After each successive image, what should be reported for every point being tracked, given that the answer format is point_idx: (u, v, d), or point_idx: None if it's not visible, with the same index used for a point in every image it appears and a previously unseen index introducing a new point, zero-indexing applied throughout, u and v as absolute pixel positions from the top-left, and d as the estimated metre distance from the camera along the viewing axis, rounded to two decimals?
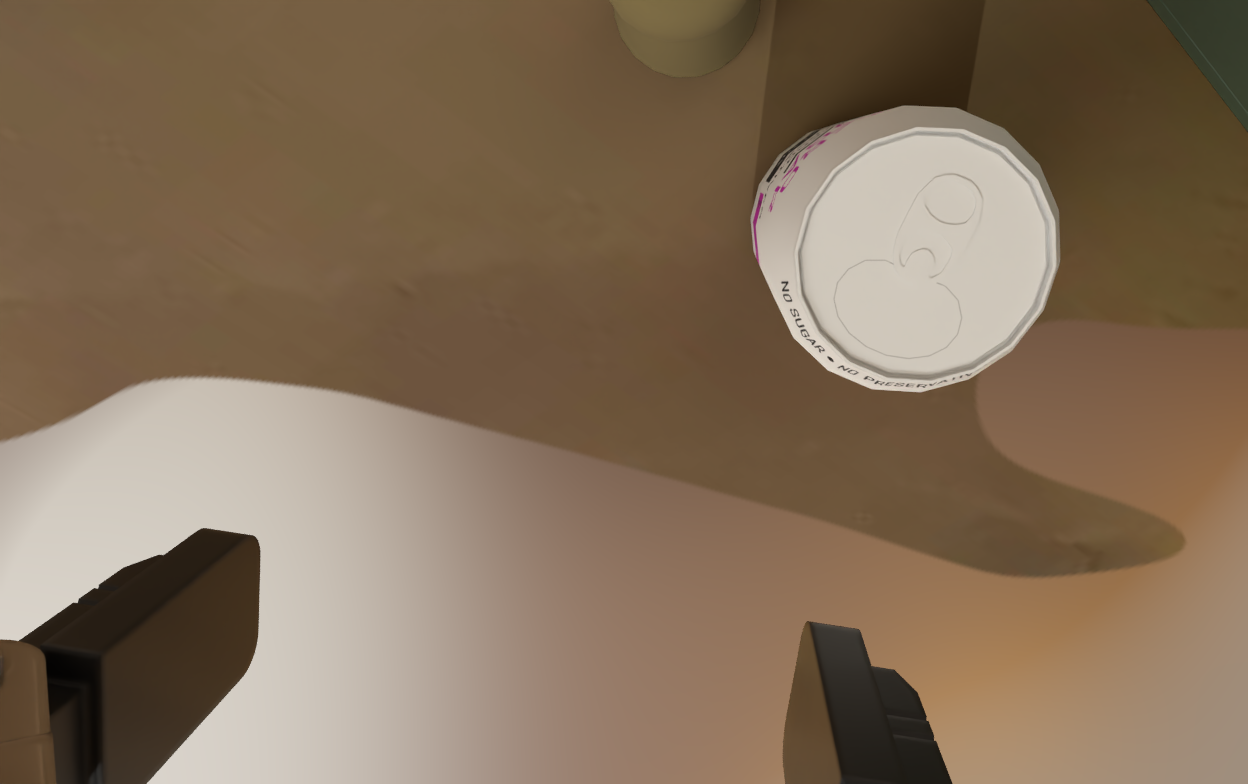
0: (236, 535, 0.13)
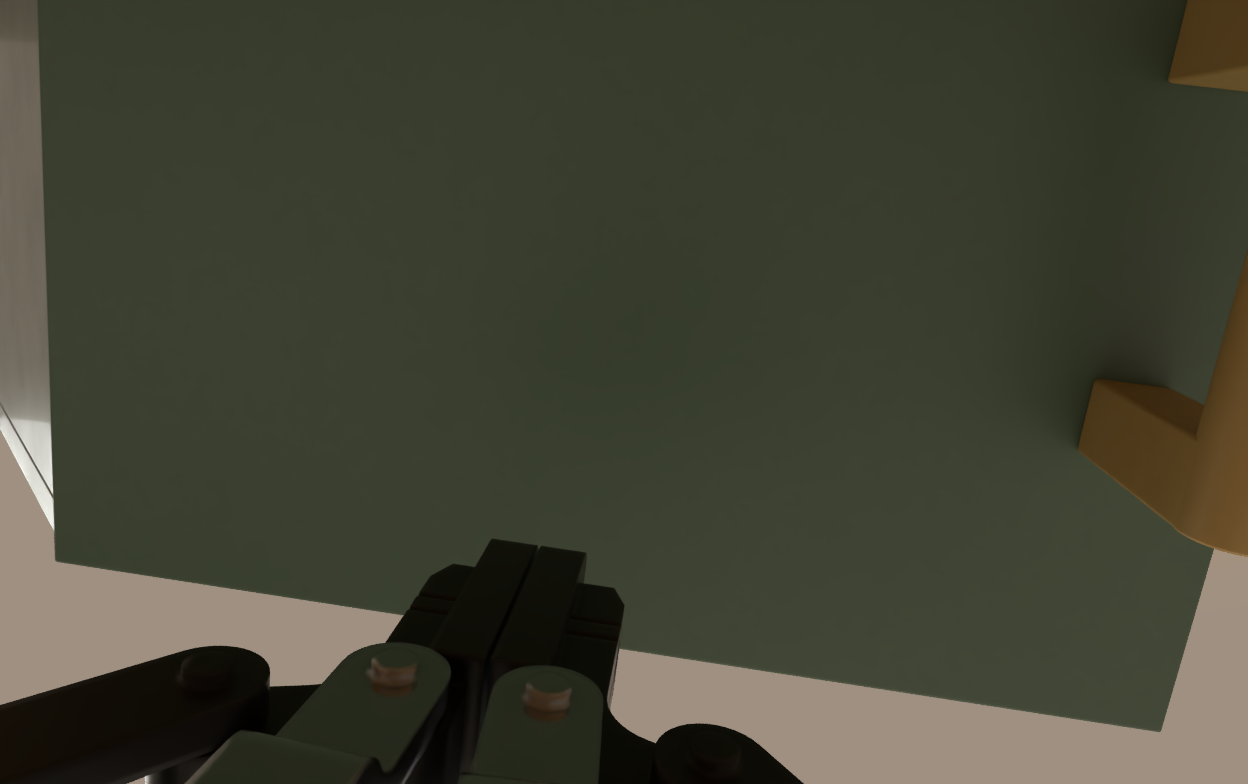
0: (526, 545, 0.14)
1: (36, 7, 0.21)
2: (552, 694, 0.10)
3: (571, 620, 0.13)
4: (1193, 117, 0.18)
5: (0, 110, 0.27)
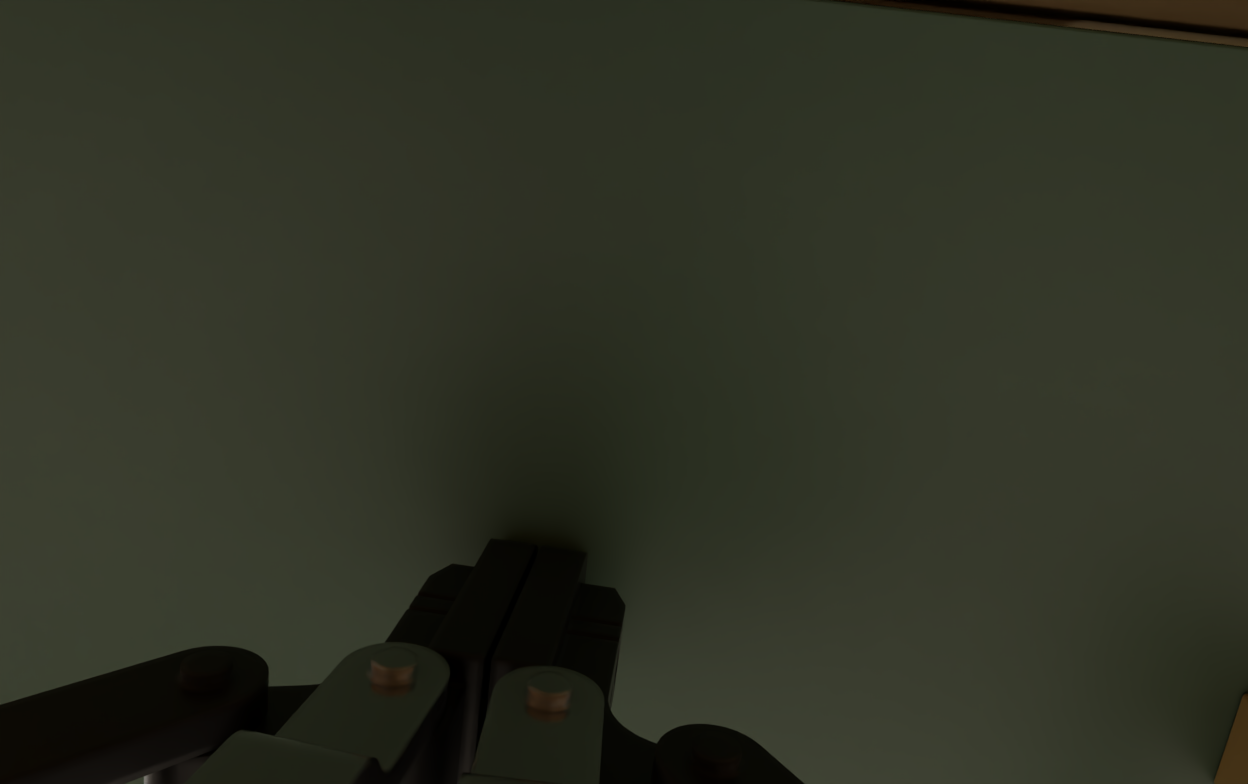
0: (525, 545, 0.14)
1: None
2: (553, 694, 0.10)
3: (572, 620, 0.13)
4: None
5: None
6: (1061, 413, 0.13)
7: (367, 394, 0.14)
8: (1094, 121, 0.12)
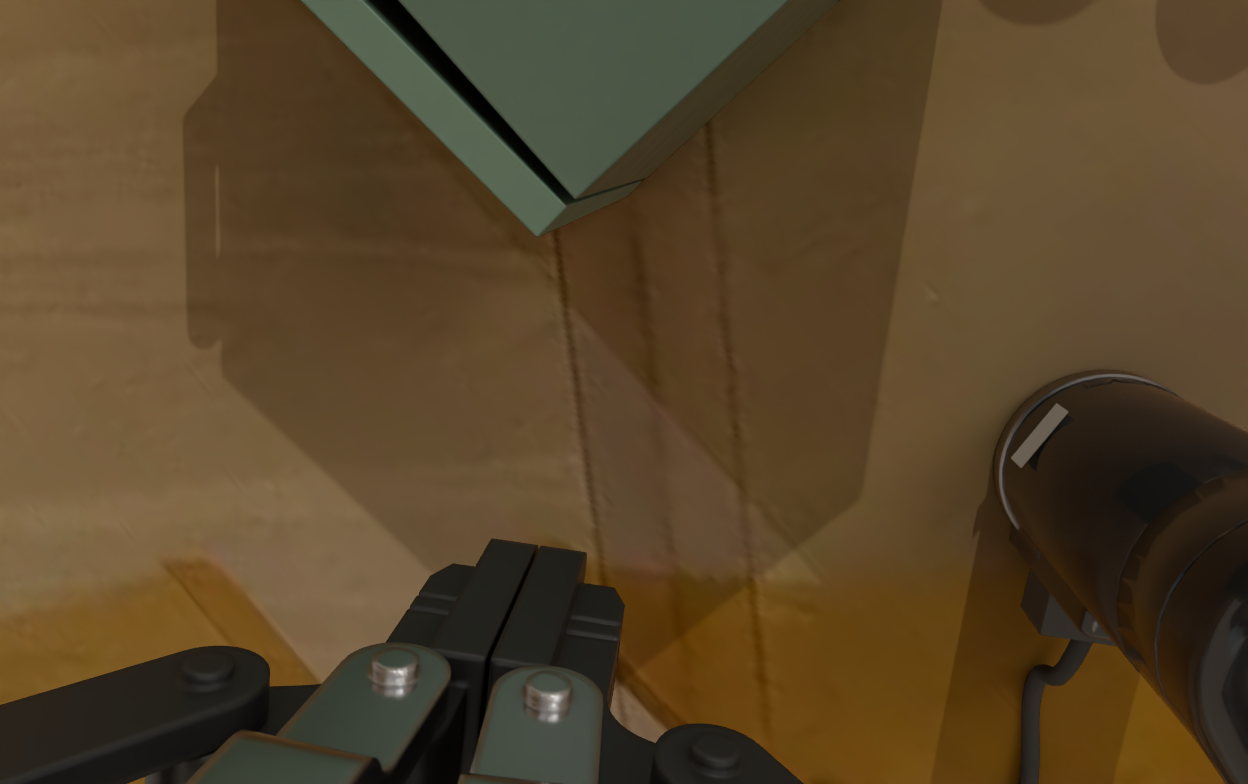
0: (526, 545, 0.14)
1: (647, 164, 0.33)
2: (552, 694, 0.10)
3: (571, 620, 0.13)
4: None
5: (786, 31, 0.30)
6: None
7: None
8: None
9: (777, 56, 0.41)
